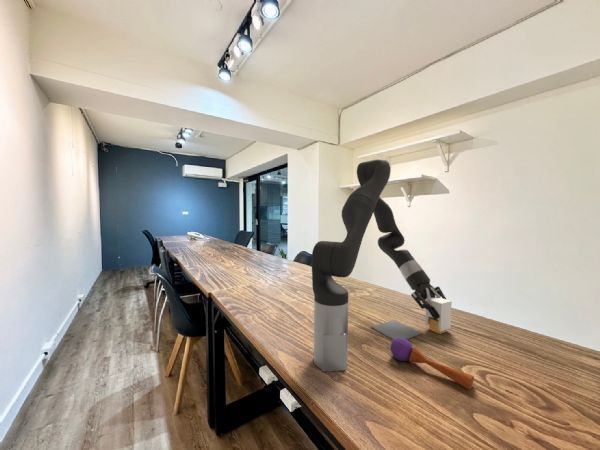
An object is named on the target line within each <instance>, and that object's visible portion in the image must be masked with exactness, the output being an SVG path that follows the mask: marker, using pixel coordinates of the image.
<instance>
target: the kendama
mask: <svg viewBox="0 0 600 450" xmlns="http://www.w3.org/2000/svg"><path fill="white" fill-rule="evenodd" d="M390 352H391V354H392V356H393V357H394V358H395V359H396V360H398V361H400V362H407V361H409V362H410V363H414V364H425V365H428V366H430V367H431V368H433V369H435V370H436V371H438V372H439V373H441V374H443V376H446V377H447V378H449V379H450V380H452V381H454V382H455V383H457V384H459V385H460V386H462V387H463V388H465V389H467V390H469V391H471V390H472V388H473V385H474V381H475V376H474V375H472V374H469V373H466V372H464V371H461V370H458V369H455V368H452V367H449V366H448V365H444V364H442V363H439V362H436V361H433V360H430V359H428V358H427V357H426V356H425V355H424V354H423V353H422V352H421V351H420V349H418V348H417V347H413V345H412V343H411V342H410V341H409V339H407V340H406V339H404V338H396V339H394V340H393V339H392V341H391V343H390ZM470 389H471V390H470Z"/></svg>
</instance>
